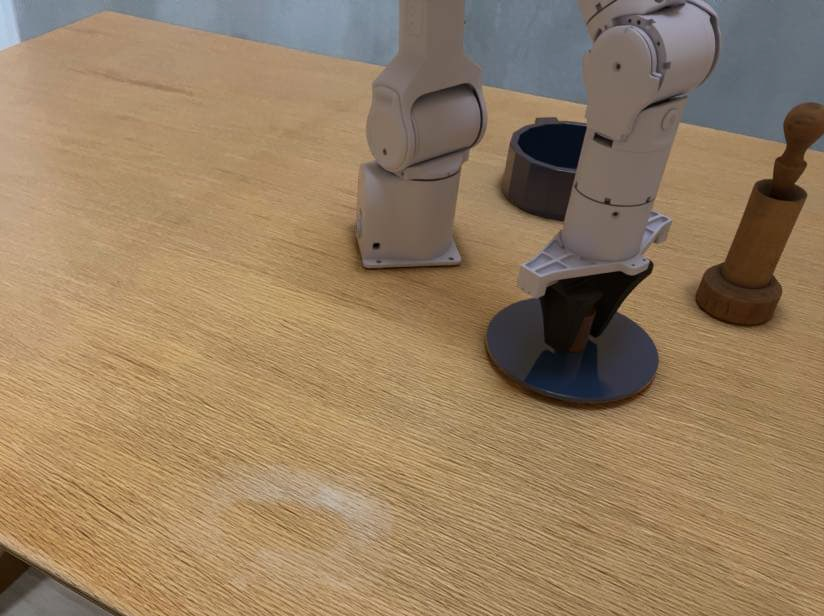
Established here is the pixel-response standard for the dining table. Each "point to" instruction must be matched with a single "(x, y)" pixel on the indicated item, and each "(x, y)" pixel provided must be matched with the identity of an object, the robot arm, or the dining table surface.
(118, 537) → the dining table surface
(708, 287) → the mortar and pestle
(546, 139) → the pot
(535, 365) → the lid
